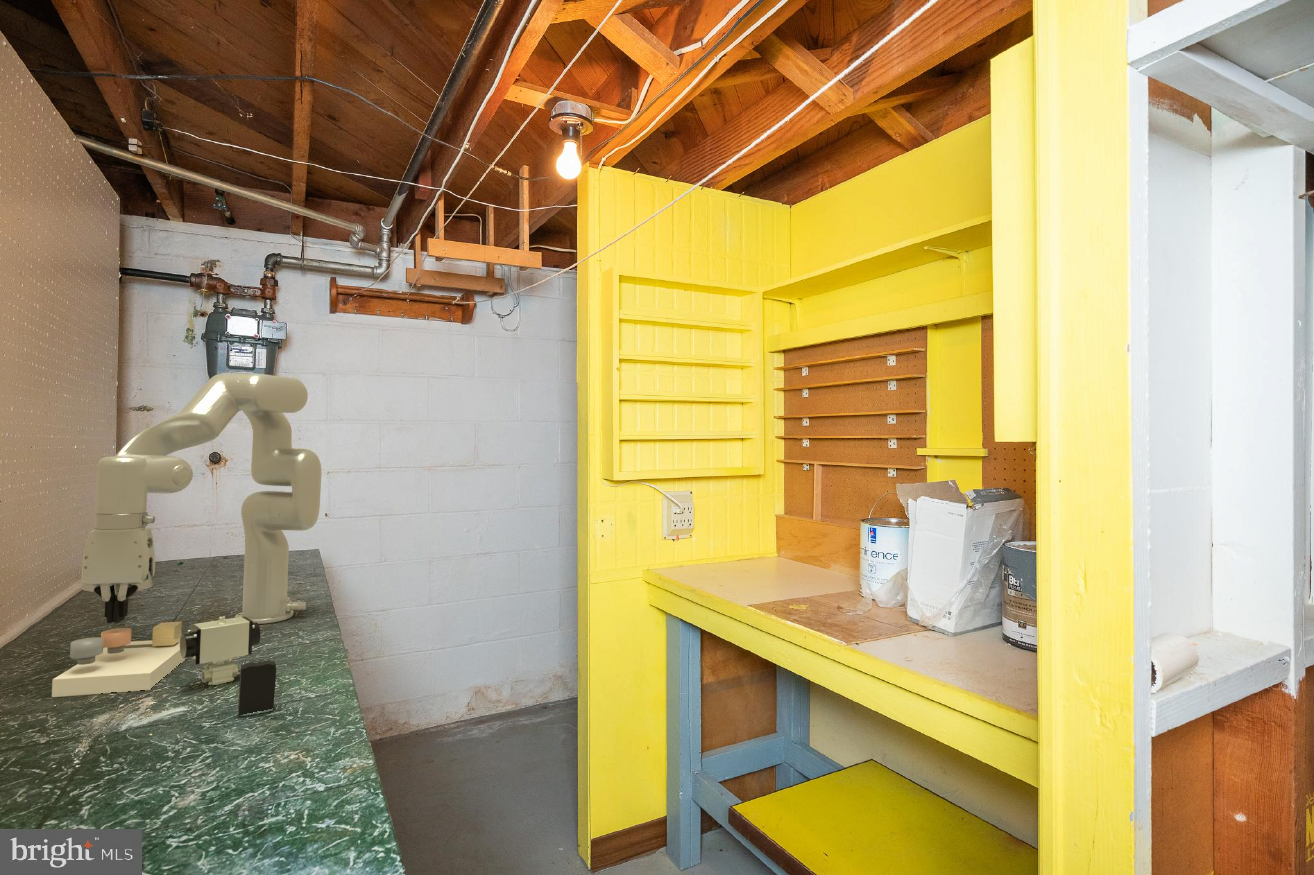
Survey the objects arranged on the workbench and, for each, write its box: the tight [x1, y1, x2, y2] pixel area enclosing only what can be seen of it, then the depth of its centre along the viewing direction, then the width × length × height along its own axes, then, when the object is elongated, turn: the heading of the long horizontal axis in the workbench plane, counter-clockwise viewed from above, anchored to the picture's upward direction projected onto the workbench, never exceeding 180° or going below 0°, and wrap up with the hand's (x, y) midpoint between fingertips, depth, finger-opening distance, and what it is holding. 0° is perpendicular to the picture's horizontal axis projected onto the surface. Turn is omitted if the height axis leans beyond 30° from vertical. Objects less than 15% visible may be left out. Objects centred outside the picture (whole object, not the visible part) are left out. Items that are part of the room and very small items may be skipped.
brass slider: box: [152, 621, 183, 646], centre depth 133 cm, size 4×4×4 cm
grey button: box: [69, 636, 104, 665], centre depth 118 cm, size 4×4×4 cm
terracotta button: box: [100, 627, 132, 654], centre depth 124 cm, size 4×4×4 cm
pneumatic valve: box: [180, 615, 262, 686], centre depth 122 cm, size 6×12×12 cm, turn 138°
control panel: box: [51, 639, 188, 698], centre depth 125 cm, size 14×22×3 cm, turn 18°
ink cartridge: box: [237, 659, 277, 716], centre depth 109 cm, size 5×2×8 cm, turn 124°
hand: (115, 621), depth 124 cm, fingers closed
